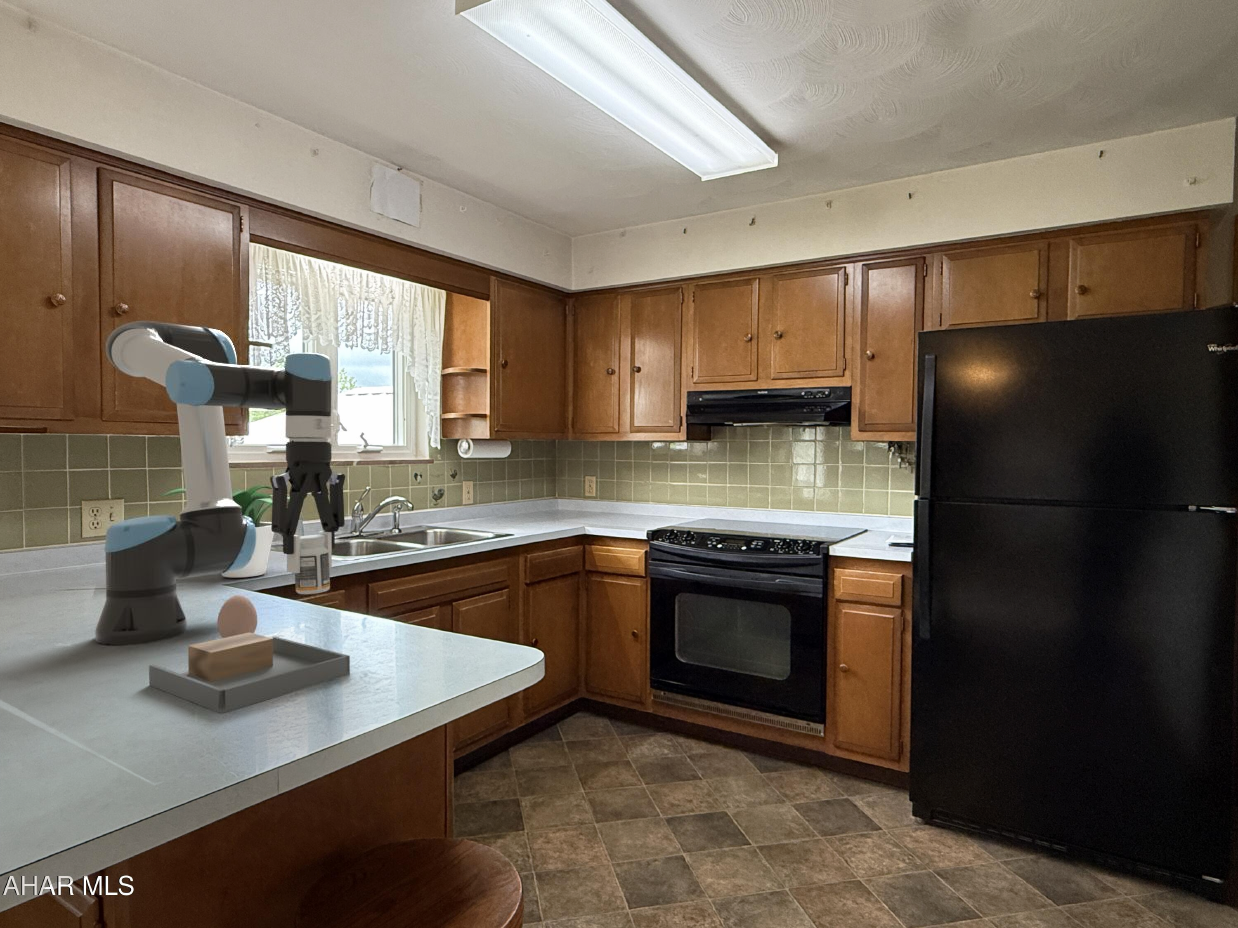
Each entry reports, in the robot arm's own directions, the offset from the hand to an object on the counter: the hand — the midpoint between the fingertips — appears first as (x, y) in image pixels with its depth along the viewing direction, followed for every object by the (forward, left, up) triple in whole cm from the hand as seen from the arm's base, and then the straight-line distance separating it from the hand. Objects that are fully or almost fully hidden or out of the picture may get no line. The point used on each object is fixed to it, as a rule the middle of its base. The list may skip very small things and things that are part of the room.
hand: (309, 569), depth 130 cm
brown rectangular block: (+1, -15, -15) cm, 21 cm away
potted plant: (-87, +33, -15) cm, 95 cm away
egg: (-16, -5, -15) cm, 22 cm away
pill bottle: (+1, 0, -4) cm, 4 cm away
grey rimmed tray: (+7, -15, -15) cm, 22 cm away
